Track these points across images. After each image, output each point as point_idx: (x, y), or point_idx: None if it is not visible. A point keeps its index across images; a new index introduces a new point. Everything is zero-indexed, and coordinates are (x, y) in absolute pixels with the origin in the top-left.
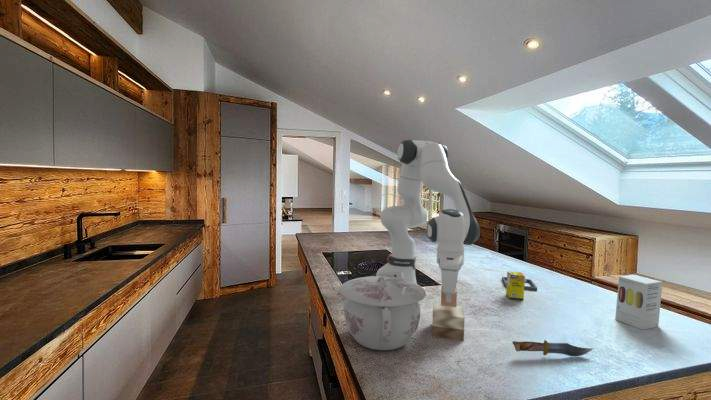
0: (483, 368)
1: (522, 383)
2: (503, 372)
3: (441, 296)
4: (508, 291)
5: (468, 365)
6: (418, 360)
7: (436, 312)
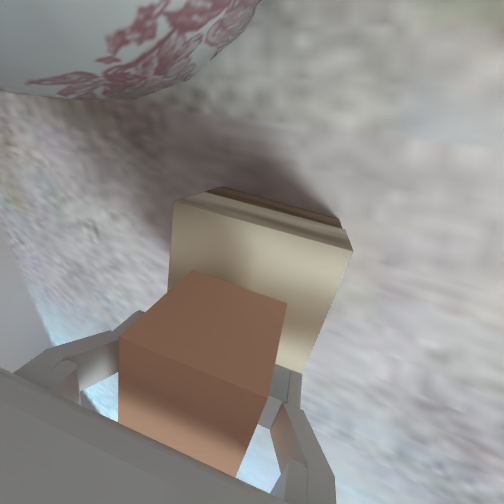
0: (85, 277)
1: (64, 323)
2: (85, 309)
3: (153, 306)
4: None
5: (85, 248)
6: (59, 105)
7: (198, 229)
